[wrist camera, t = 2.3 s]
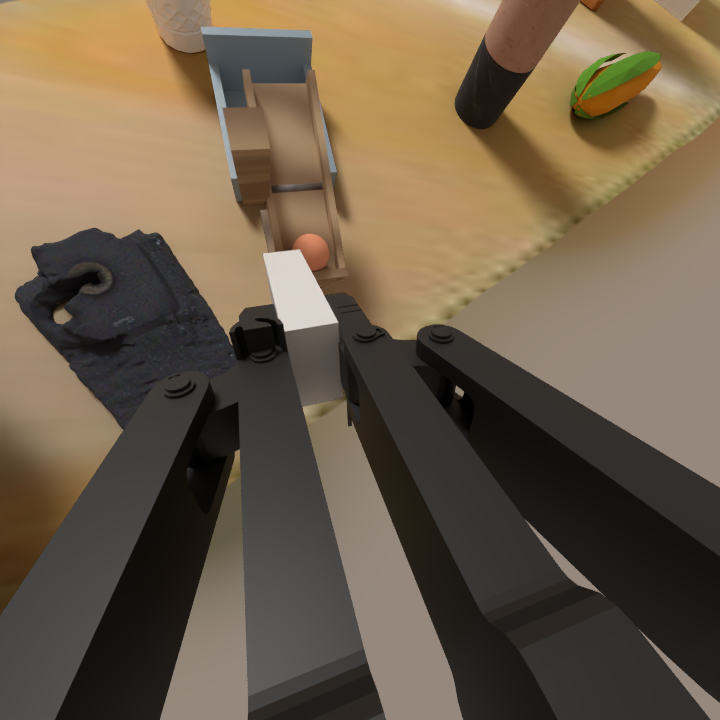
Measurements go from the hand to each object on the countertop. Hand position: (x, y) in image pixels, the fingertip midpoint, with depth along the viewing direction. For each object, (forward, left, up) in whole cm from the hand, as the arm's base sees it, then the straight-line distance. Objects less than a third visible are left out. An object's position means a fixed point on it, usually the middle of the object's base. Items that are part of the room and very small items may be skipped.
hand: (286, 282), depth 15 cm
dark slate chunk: (-16, -1, -26) cm, 30 cm away
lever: (-5, +16, -16) cm, 23 cm away
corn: (+34, +60, -25) cm, 74 cm away
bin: (-11, +27, -25) cm, 39 cm away
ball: (-1, +10, -16) cm, 19 cm away
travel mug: (+13, +47, -25) cm, 55 cm away
